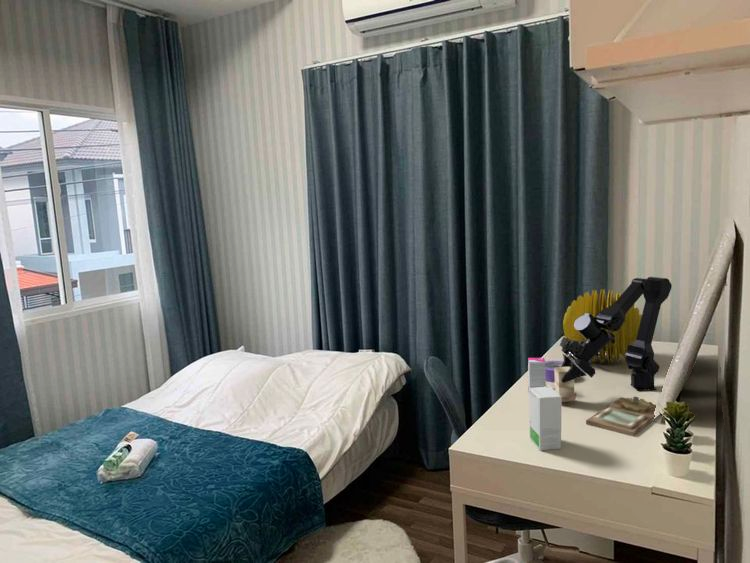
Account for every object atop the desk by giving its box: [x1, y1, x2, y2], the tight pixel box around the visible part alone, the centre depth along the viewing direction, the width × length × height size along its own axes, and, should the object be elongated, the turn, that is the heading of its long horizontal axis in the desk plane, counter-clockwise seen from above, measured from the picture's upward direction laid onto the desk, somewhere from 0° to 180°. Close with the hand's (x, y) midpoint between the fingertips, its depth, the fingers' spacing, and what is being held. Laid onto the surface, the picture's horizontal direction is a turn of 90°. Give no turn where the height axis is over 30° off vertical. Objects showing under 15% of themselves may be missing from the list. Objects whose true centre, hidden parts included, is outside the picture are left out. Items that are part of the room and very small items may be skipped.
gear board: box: [585, 396, 657, 437], centre depth 172 cm, size 24×14×4 cm, turn 133°
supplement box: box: [527, 357, 547, 394], centre depth 200 cm, size 6×6×12 cm
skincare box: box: [528, 385, 563, 452], centre depth 157 cm, size 8×7×16 cm
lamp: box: [562, 288, 642, 365], centre depth 224 cm, size 30×30×30 cm
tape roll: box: [545, 360, 564, 383], centre depth 212 cm, size 12×12×5 cm
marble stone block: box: [554, 367, 577, 403], centre depth 186 cm, size 7×7×10 cm
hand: (560, 379), depth 186 cm, fingers closed on marble stone block, 5 cm apart
